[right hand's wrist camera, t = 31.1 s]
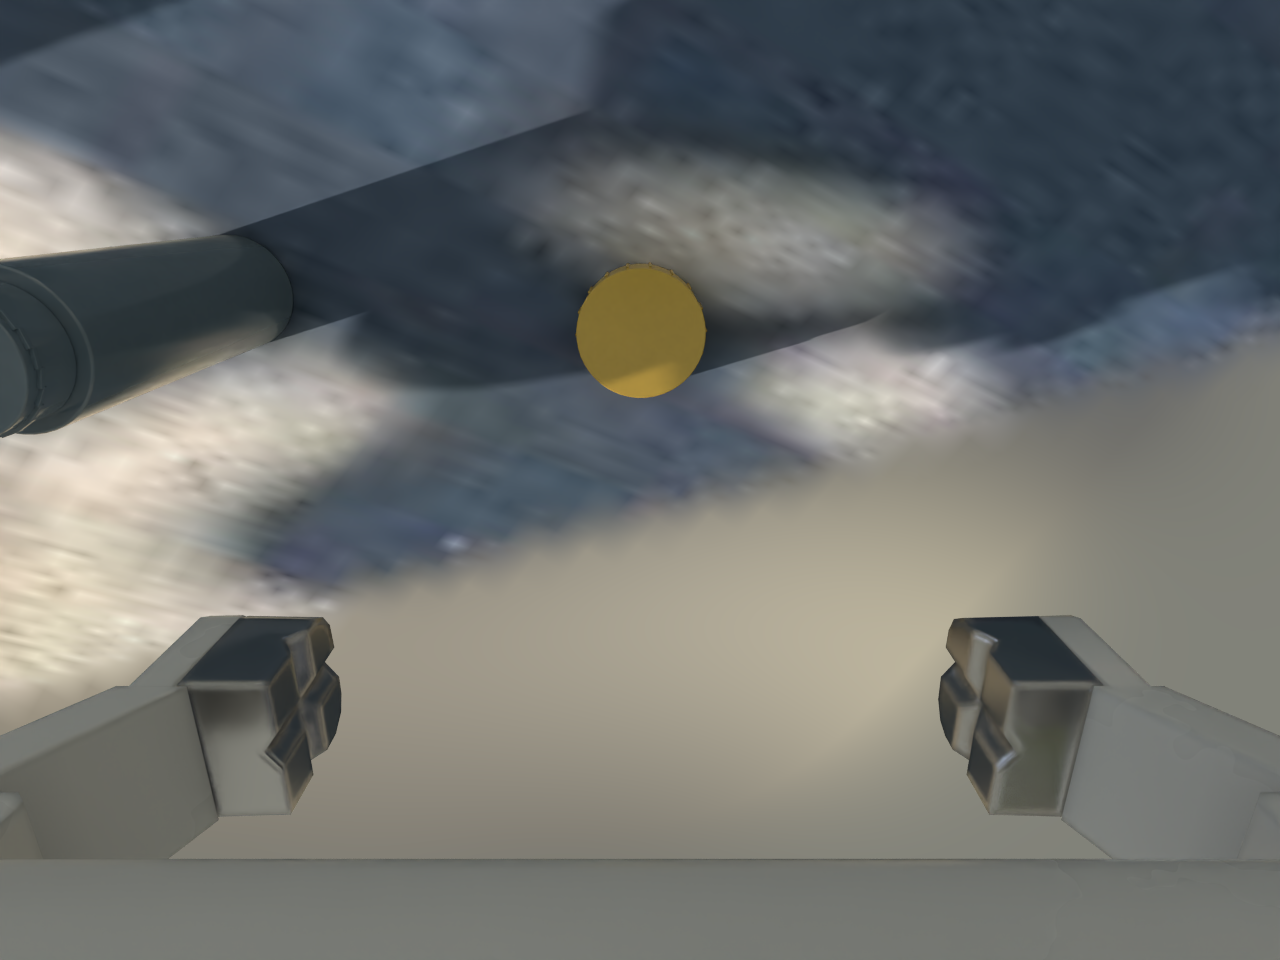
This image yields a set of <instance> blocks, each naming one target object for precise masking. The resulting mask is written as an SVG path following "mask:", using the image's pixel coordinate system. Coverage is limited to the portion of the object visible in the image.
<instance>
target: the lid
mask: <svg viewBox="0 0 1280 960" xmlns="http://www.w3.org/2000/svg"><path fill="white" fill-rule="evenodd" d="M691 289H692V288H691V286H690V285H689V283H688V284H686V283H685V282H684V281H683V280H682V279H681V278H680V277H678V276H677V275H676V274H674V273H673V270H671V269H670V271H669V270H667V269H665V268H662V267H660V266H656V265H652V264H651V263H650V262H649V264H631V265H629V263H627V264H626V266H623V267H620V268H617V269H615V270H613V271H611V272H610V273H609V272H606V274H605V276H604V277H603V278H601V279H600V280H599V281H598V282H597V283H596V284H595V285H594V286H593V287H592V286H591V287H590V289H589V291H588V293H589V294H588V296H587V298H586V299H585V301H584V303H583V305H582V306H581V307H580V309H579V311H578V314H579V317H578V321H577V330H576V334H575V336H577V344H578V349H579V352H580V357H581V358H582V360H583V362H584V364H585V366H586V368H587V369H588V371H589V372H590V373H591V374H592V376H593V377H594V378H595V379H596V380H597V381H598V382H599V383H601V384H602V385H603V386H605V387H606V388H608V389H610V390H611V391H613V392H616V393H618V394H621V395H624V396H628V397H636V398H647V397H654V396H658V395H661V394H664V393H666V392H669V391H671V390H672V389H674V388H676V387H677V386H679V385H680V384H681V383H683V382H684V381H685V380H686V379H687V378H688V377H689V376H690V375H691V373H692V372H693V371H694V370H695V368H696V366H697V364H698V363H699V361H700V358H701V356H702V354H703V350H704V346H705V339H706V332H707V329H706V327H705V320H704V316H703V312H702V310H703V307H702V305H701V303H700V302H699V303H698V301H697V299H696V297H695V295H694V294H693V292H692V290H691Z"/></svg>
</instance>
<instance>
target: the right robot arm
mask: <svg viewBox="0 0 1280 960" xmlns="http://www.w3.org/2000/svg"><path fill="white" fill-rule="evenodd" d="M333 648H334V644H333V639H332V634H331V629H330V625H329V624H328V623H327V621H326V620H325V619H324V618H323V617H276V616H247V617H246V616H243V615H232V616H208V617H201V618H200V619H198V620H197V621H196V622H195V623H194V624H193V625H192V626H191V627H190V628H189V629H188V630H187V631H186V632H185V633H184V634H183V635H182V636H181V637H180V638H179V639H178V640H177V641H176V642H174V643H173V644H172V645H171V646H170V647H169V648H168V649H167V650H166V651H165V652H164V653H163V654H162V655H161V656H160V657H159V658H158V659H157V660H156V661H155V662H154V663H153V664H152V665H151V666H149V667H148V668H147V669H146V670H145V671H144V672H143V673H142V674H141V675H140V676H139V677H138V678H137V679H136V680H135V681H134V682H133V683H132V684H131V685H130V686H115V687H113V688H111V689H108V690H106V691H104V692H101V693H99V694H97V695H94V696H92V697H90V698H87V699H85V700H83V701H80V702H78V703H76V704H73V705H71V706H69V707H66V708H64V709H62V710H59V711H57V712H55V713H52V714H50V715H48V716H45V717H43V718H41V719H38V720H36V721H34V722H31V723H29V724H27V725H24V726H22V727H20V728H17V729H15V730H13V731H10V732H8V733H6V734H3V735H1V736H0V960H1280V736H1279V735H1277V734H1274V733H1272V732H1269V731H1267V730H1265V729H1262V728H1260V727H1258V726H1256V725H1253V724H1251V723H1248V722H1246V721H1244V720H1242V719H1239V718H1237V717H1235V716H1232V715H1230V714H1228V713H1225V712H1223V711H1221V710H1218V709H1216V708H1214V707H1211V706H1209V705H1207V704H1204V703H1202V702H1200V701H1197V700H1195V699H1193V698H1190V697H1188V696H1186V695H1183V694H1181V693H1178V692H1176V691H1174V690H1172V689H1169V688H1167V687H1165V686H1150V685H1149V684H1148V683H1147V682H1146V681H1145V680H1144V679H1143V678H1142V677H1141V676H1140V675H1139V674H1138V673H1137V672H1136V671H1135V670H1134V669H1133V668H1132V667H1131V666H1130V665H1129V664H1128V663H1126V662H1125V661H1124V660H1123V659H1122V658H1121V657H1120V656H1119V655H1118V654H1117V653H1116V652H1115V651H1114V650H1113V649H1112V648H1111V647H1110V646H1109V645H1108V644H1107V643H1106V642H1105V641H1104V640H1103V639H1101V638H1100V637H1099V636H1098V635H1097V634H1096V633H1095V632H1094V631H1093V630H1092V629H1091V628H1090V627H1089V626H1088V625H1087V624H1086V623H1085V622H1084V621H1083V620H1082V619H1080V618H1078V617H1075V616H1072V615H1060V616H1026V617H985V618H959V619H954V620H953V622H952V625H951V627H950V629H949V632H948V638H947V643H946V648H947V650H948V651H949V653H950V654H951V656H952V658H953V659H954V661H955V663H954V664H953V665H952V666H951V667H950V668H949V669H948V670H947V671H946V672H945V673H944V674H943V675H942V676H941V682H940V690H939V698H938V701H939V711H940V720H941V724H942V727H943V730H944V733H945V736H946V738H947V740H948V742H949V744H950V746H951V747H952V749H953V750H954V751H956V752H957V753H959V754H960V755H962V756H964V757H965V758H967V759H968V760H969V764H968V770H967V776H968V778H969V780H970V781H971V783H972V785H973V787H974V788H975V790H976V792H977V794H978V795H979V797H980V799H981V801H982V803H983V804H984V806H985V808H986V810H987V811H988V813H989V814H990V815H1024V816H1060V817H1062V819H1061V820H1062V821H1064V822H1065V823H1066V824H1067V825H1069V826H1070V827H1071V828H1073V829H1074V830H1075V831H1077V832H1078V833H1079V834H1080V835H1082V836H1083V837H1084V838H1086V839H1087V840H1088V841H1090V842H1091V843H1092V844H1093V845H1095V846H1096V847H1097V848H1099V849H1100V850H1101V851H1103V852H1104V853H1105V854H1106V855H1108V856H1109V857H1110V858H1112V859H169V858H170V857H171V856H172V855H174V854H175V853H176V852H178V851H179V850H180V849H182V848H183V847H184V846H185V845H187V844H188V843H189V842H191V841H192V840H193V839H195V838H196V837H197V836H198V835H200V834H201V833H202V832H204V831H205V830H206V829H208V828H209V827H210V826H211V825H213V824H214V823H215V822H217V821H218V817H220V816H255V815H290V814H291V813H292V811H293V810H294V808H295V806H296V804H297V803H298V801H299V799H300V797H301V796H302V794H303V792H304V790H305V789H306V787H307V785H308V783H309V781H310V780H311V778H312V776H313V770H312V764H311V760H312V759H313V758H315V757H317V756H318V755H320V754H321V753H323V752H324V751H326V750H327V749H328V747H329V745H330V744H331V742H332V740H333V738H334V736H335V734H336V731H337V726H338V722H339V718H340V714H341V688H340V681H339V676H338V675H337V674H336V673H335V672H334V671H333V670H332V669H331V668H330V667H329V666H328V665H327V664H326V663H325V661H326V659H327V658H328V656H329V654H330V653H331V651H332V650H333Z"/></svg>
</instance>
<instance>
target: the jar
mask: <svg viewBox="0 0 1280 960" xmlns="http://www.w3.org/2000/svg"><path fill="white" fill-rule="evenodd" d="M292 307H293V294H292V288H291V285H290V281H289V279H288V276H287V274H286V272H285V270H284V269H283V267H282V265H281V264H280V263H279V261H278V260H277V259H276V258H275V257H274V256H273V254H271V253H270V252H269V251H268V250H267V249H266V248H264V247H263V246H261V245H260V244H258V243H256V242H254V241H253V240H250V239H248V238H245V237H241V236H237V235H215V236H206V237H197V238H187V239H178V240H169V241H160V242H151V243H142V244H133V245H123V246H114V247H105V248H96V249H87V250H78V251H69V252H59V253H50V254H41V255H32V256H23V257H14V258H5V259H0V437H2V438H3V437H6V436H9V435H12V434H14V433H17V434H43V433H48V432H52V431H55V430H58V429H60V428H63V427H65V426H68V425H70V424H73V423H75V422H77V421H80V420H82V419H85V418H87V417H89V416H92V415H94V414H97V413H99V412H102V411H104V410H106V409H109V408H111V407H114V406H116V405H119V404H121V403H123V402H126V401H128V400H131V399H133V398H136V397H138V396H140V395H143V394H145V393H148V392H150V391H152V390H155V389H157V388H160V387H162V386H165V385H167V384H169V383H172V382H174V381H177V380H179V379H182V378H184V377H186V376H189V375H191V374H194V373H196V372H198V371H201V370H203V369H206V368H208V367H211V366H213V365H215V364H218V363H220V362H223V361H225V360H228V359H230V358H232V357H235V356H237V355H240V354H242V353H245V352H247V351H249V350H252V349H254V348H257V347H259V346H261V345H264V344H266V343H268V342H270V341H272V340H273V339H275V338H276V337H277V336H279V335H280V334H281V333H282V331H283V330H284V329H285V327H286V326H287V324H288V322H289V319H290V317H291V313H292Z"/></svg>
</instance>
